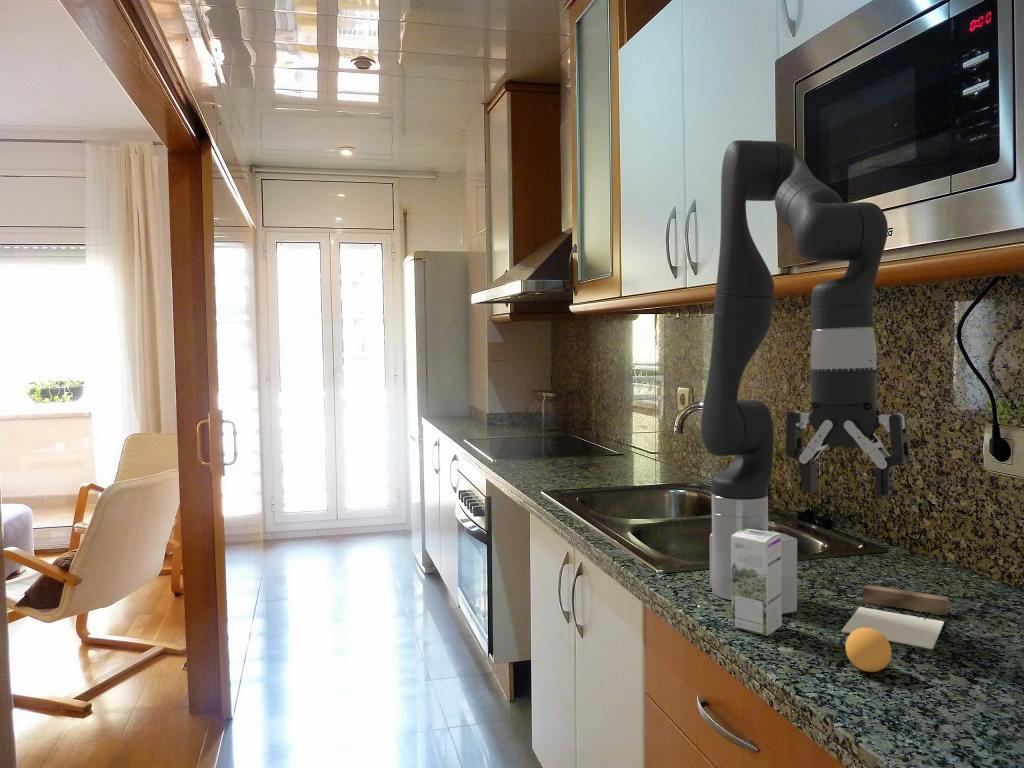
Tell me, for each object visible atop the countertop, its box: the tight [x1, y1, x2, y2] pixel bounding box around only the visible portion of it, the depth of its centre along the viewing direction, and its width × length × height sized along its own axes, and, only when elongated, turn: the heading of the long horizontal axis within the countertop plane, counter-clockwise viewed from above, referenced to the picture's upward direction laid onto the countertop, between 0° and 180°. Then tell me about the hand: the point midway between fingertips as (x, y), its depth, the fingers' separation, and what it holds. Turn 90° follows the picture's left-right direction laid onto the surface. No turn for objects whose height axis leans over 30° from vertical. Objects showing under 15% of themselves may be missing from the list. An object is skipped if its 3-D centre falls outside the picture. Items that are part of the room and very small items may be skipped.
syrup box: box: [731, 529, 783, 637], centre depth 117 cm, size 6×6×14 cm
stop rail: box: [862, 584, 949, 617], centre depth 124 cm, size 12×2×2 cm, turn 54°
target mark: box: [841, 606, 945, 650], centre depth 116 cm, size 12×12×1 cm
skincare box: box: [766, 530, 798, 615], centre depth 125 cm, size 6×4×12 cm
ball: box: [845, 628, 892, 673], centre depth 101 cm, size 6×6×6 cm
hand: (845, 495), depth 96 cm, fingers open, 8 cm apart
